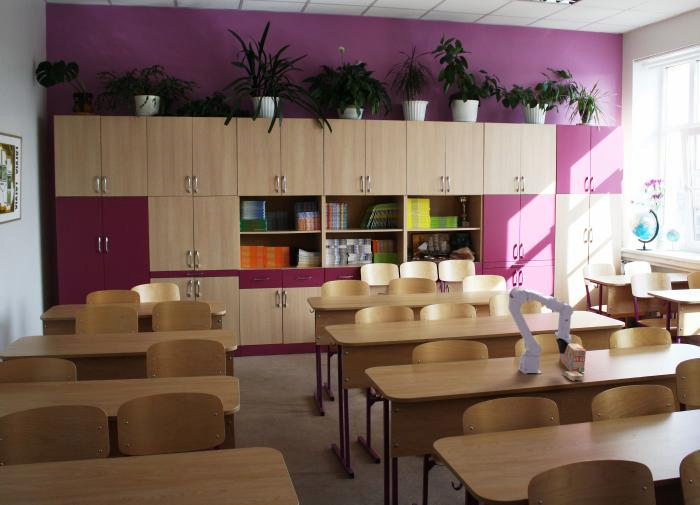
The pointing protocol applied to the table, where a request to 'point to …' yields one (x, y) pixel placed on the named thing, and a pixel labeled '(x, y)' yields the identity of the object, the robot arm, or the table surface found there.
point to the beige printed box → (574, 357)
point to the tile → (573, 375)
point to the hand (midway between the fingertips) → (562, 353)
